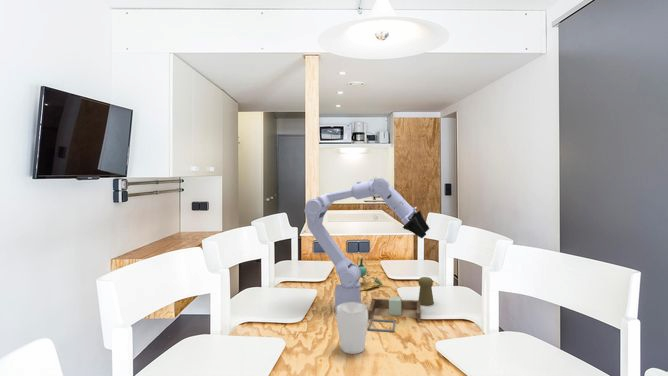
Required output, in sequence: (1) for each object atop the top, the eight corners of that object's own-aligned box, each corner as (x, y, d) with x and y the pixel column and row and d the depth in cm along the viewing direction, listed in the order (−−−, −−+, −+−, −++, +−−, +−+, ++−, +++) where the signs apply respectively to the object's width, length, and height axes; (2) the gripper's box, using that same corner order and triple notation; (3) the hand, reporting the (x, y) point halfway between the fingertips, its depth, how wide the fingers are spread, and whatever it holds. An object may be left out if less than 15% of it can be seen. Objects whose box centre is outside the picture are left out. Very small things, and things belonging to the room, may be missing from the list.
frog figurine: (385, 291, 158) (381, 257, 157) (343, 296, 159) (338, 262, 159) (384, 284, 167) (379, 252, 167) (344, 289, 169) (340, 257, 168)
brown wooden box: (368, 323, 124) (368, 310, 124) (372, 310, 136) (372, 298, 136) (420, 326, 120) (420, 313, 120) (420, 313, 132) (420, 300, 132)
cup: (335, 342, 111) (334, 302, 110) (365, 340, 112) (364, 301, 111) (338, 357, 102) (337, 314, 101) (371, 355, 103) (370, 312, 102)
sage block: (389, 314, 128) (388, 300, 127) (390, 310, 131) (389, 296, 131) (401, 315, 127) (400, 300, 127) (401, 311, 131) (401, 297, 130)
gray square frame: (367, 335, 115) (367, 329, 115) (370, 324, 123) (370, 318, 123) (394, 337, 113) (394, 330, 113) (395, 326, 121) (395, 320, 121)
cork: (435, 310, 134) (434, 280, 134) (417, 309, 136) (417, 279, 135) (434, 304, 140) (433, 275, 140) (417, 304, 142) (417, 275, 141)
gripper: (402, 201, 124) (431, 231, 122) (410, 193, 137) (436, 221, 135) (387, 215, 127) (415, 245, 125) (397, 206, 140) (422, 233, 138)
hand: (425, 233), depth 130 cm, fingers open, 7 cm apart
